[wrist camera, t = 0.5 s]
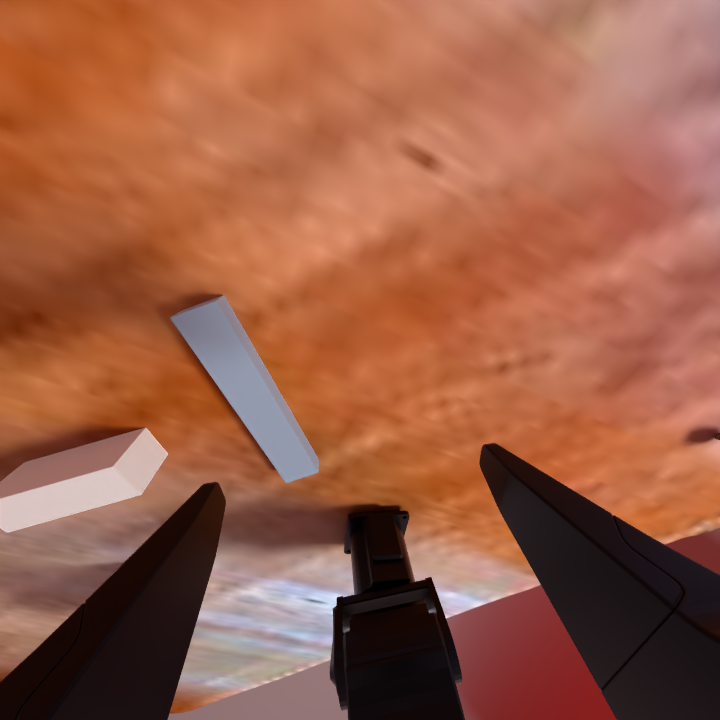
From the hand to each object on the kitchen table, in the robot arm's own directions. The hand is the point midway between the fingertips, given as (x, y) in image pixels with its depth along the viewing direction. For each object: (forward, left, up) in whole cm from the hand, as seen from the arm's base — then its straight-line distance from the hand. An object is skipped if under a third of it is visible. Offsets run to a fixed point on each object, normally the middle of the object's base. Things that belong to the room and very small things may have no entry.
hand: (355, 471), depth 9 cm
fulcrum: (-11, +19, -13) cm, 25 cm away
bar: (-5, +6, -13) cm, 16 cm away
